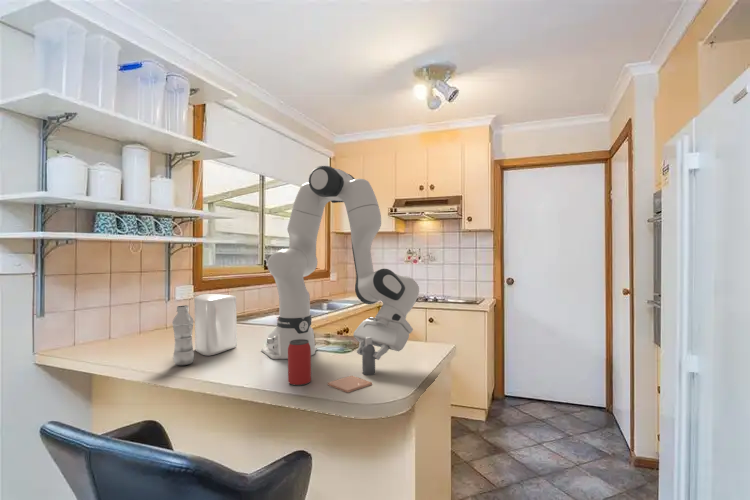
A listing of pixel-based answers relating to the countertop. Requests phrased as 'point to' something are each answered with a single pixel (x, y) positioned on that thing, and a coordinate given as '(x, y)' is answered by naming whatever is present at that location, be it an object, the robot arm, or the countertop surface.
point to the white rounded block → (215, 323)
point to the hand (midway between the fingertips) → (367, 356)
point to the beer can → (299, 362)
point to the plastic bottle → (183, 336)
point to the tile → (349, 383)
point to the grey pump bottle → (368, 357)
